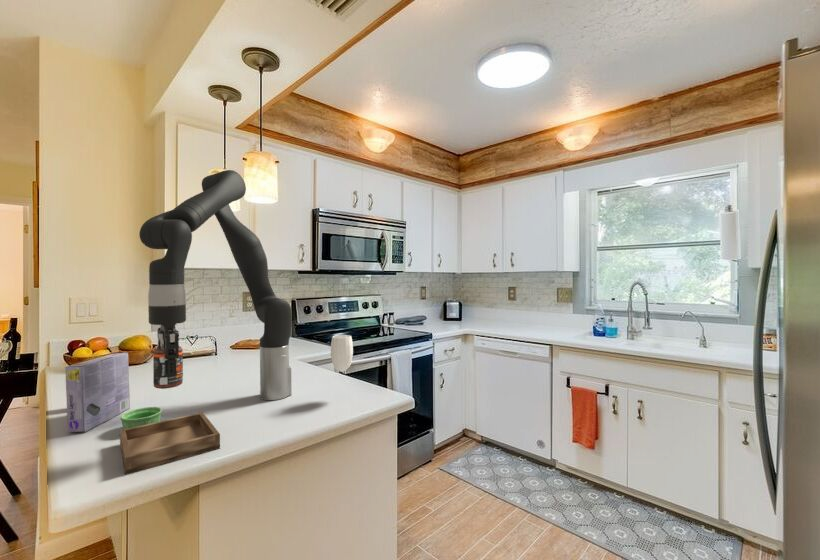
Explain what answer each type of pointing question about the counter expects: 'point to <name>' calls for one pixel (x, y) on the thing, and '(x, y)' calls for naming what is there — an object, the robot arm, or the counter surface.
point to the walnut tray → (167, 441)
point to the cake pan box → (96, 391)
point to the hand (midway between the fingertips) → (168, 372)
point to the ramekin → (141, 417)
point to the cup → (341, 352)
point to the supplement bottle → (159, 369)
